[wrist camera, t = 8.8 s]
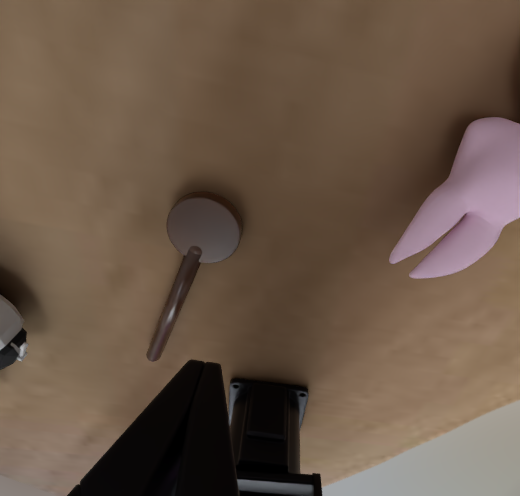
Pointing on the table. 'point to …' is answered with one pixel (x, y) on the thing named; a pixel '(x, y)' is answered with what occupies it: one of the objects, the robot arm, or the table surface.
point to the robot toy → (11, 334)
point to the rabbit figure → (468, 201)
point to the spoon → (195, 250)
